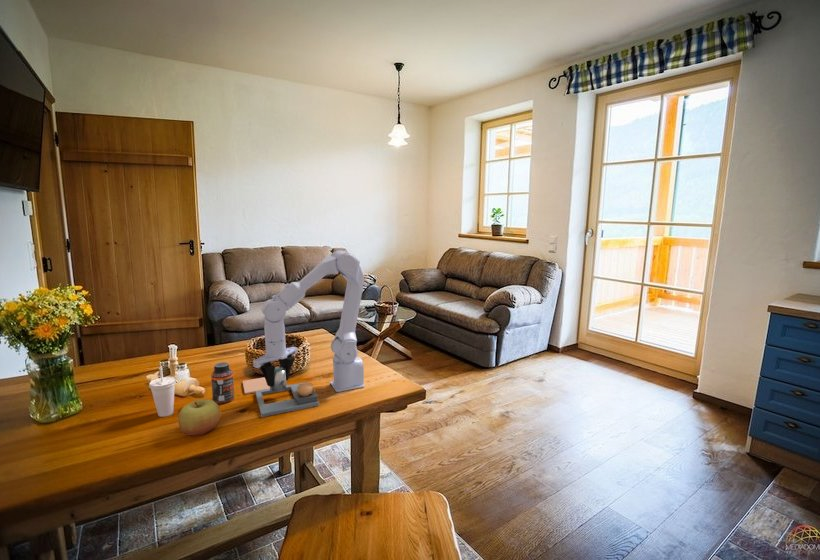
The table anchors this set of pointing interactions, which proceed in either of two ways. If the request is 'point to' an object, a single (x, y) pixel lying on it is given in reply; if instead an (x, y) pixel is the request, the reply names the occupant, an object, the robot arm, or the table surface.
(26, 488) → the table surface
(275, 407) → the housing
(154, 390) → the smoothie
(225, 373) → the supplement bottle
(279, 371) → the cartridge
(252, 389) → the coaster
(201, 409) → the apple
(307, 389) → the plunger
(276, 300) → the robot arm
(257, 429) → the table surface
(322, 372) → the table surface
